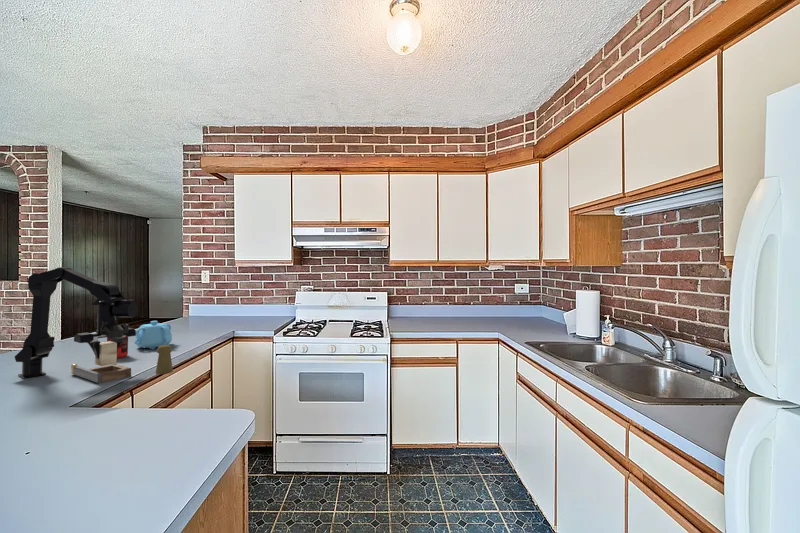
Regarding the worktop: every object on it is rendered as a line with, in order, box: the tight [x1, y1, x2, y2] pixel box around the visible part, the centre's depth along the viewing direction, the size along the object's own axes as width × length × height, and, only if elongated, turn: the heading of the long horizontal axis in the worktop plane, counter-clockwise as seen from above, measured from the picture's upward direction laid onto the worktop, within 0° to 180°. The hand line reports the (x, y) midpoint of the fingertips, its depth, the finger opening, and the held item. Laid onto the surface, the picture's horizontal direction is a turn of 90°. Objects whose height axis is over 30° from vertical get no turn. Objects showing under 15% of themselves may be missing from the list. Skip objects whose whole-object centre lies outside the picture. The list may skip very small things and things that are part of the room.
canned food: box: [106, 336, 129, 359], centre depth 181 cm, size 8×8×11 cm
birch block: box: [94, 341, 118, 367], centre depth 150 cm, size 5×5×8 cm
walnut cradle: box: [88, 363, 132, 383], centre depth 151 cm, size 12×10×3 cm
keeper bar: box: [70, 363, 102, 383], centre depth 148 cm, size 21×2×4 cm, turn 60°
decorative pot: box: [134, 320, 173, 350], centre depth 204 cm, size 16×16×14 cm
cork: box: [155, 344, 174, 375], centre depth 159 cm, size 6×6×11 cm
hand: (106, 357), depth 150 cm, fingers closed on birch block, 5 cm apart
